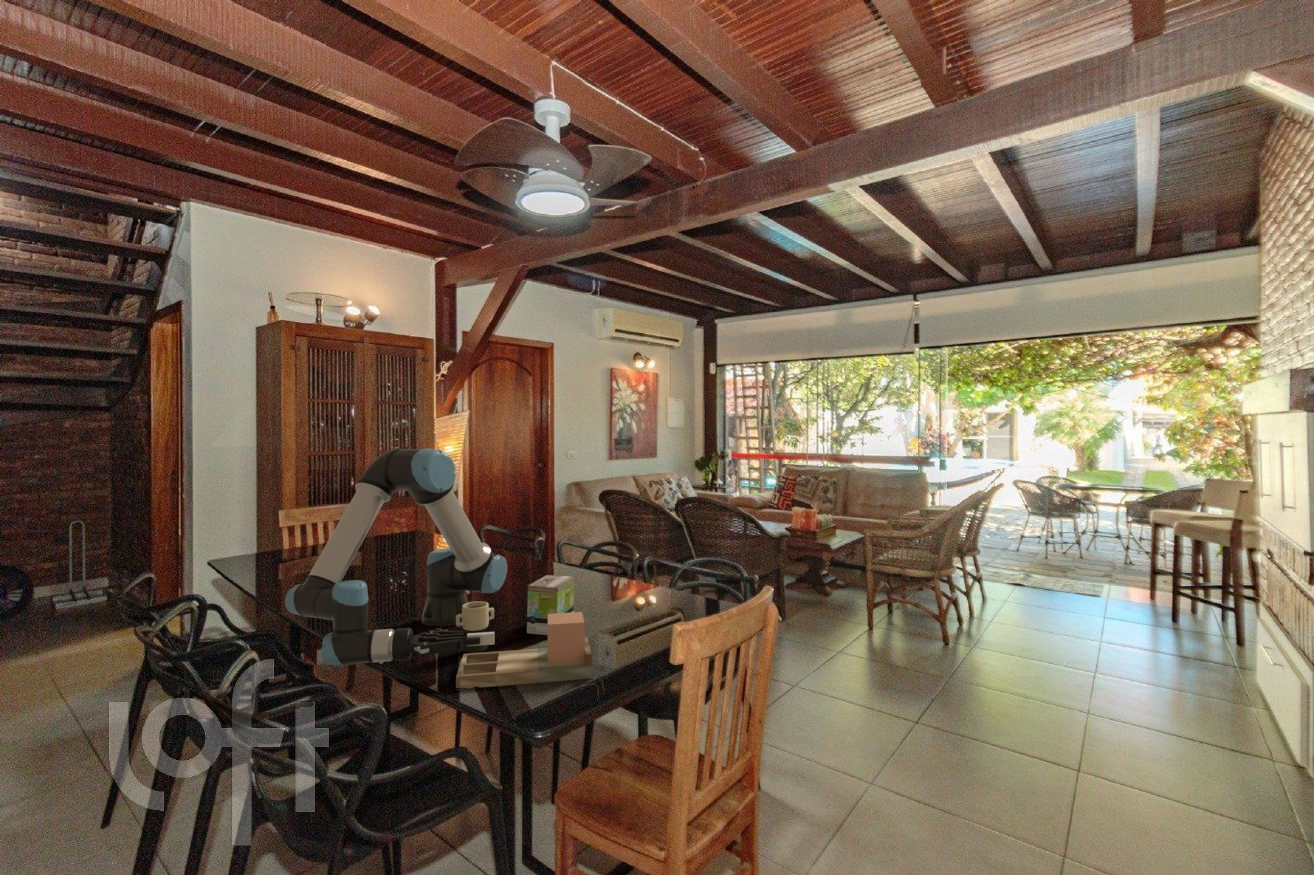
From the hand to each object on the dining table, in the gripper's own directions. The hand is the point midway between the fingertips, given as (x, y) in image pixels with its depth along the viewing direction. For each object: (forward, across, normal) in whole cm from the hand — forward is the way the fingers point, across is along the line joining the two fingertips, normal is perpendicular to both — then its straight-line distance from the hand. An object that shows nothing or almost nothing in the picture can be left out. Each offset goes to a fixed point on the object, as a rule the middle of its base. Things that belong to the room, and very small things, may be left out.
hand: (494, 637), depth 152 cm
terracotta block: (+18, 0, -6) cm, 19 cm away
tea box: (+15, -34, -9) cm, 39 cm away
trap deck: (+8, 0, -9) cm, 12 cm away
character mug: (-6, -17, -9) cm, 21 cm away
